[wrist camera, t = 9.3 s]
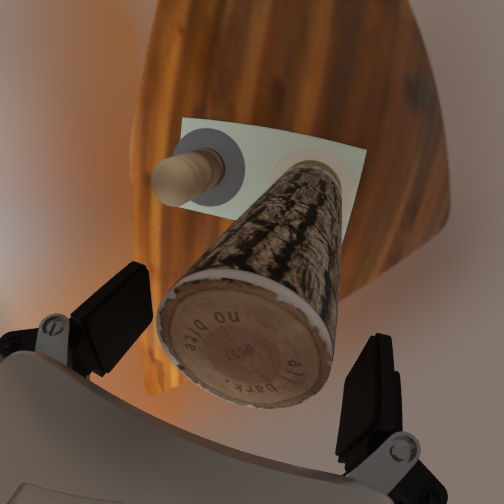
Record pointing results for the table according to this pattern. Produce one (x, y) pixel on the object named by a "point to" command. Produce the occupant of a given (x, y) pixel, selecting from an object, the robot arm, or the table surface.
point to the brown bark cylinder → (263, 297)
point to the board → (251, 161)
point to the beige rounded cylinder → (187, 176)
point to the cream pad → (326, 158)
